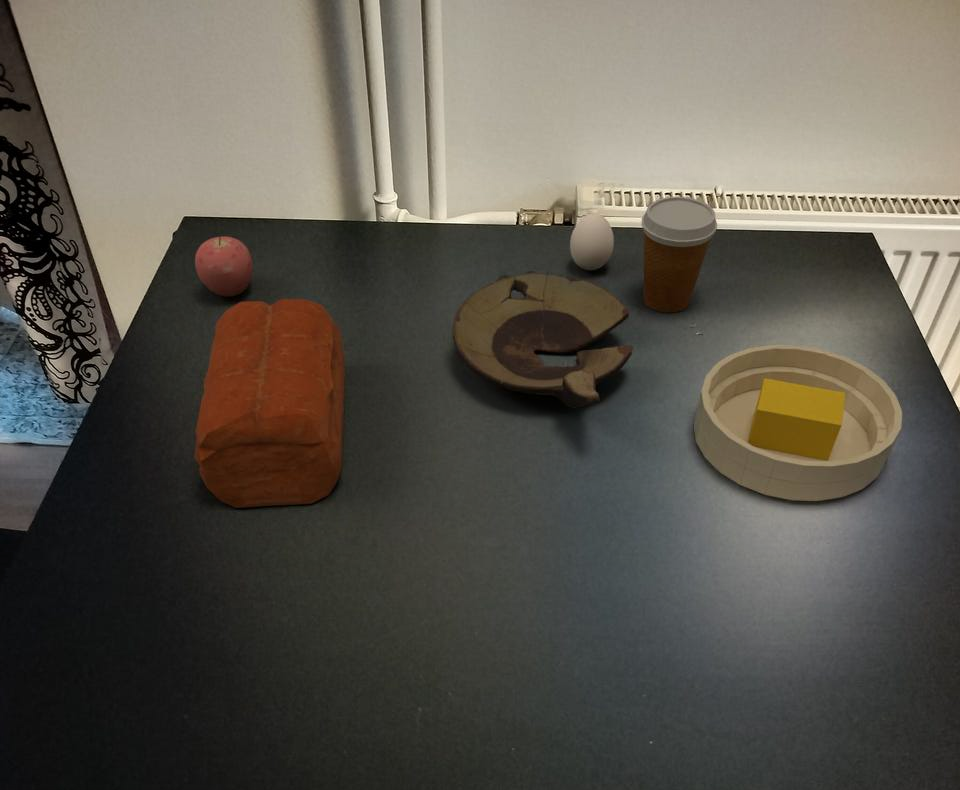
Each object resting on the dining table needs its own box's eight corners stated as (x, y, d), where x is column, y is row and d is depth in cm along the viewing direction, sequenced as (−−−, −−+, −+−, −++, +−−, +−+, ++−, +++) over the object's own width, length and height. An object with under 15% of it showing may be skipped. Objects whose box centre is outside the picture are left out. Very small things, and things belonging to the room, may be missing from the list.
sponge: (832, 428, 103) (845, 392, 99) (827, 461, 100) (841, 425, 96) (754, 413, 105) (764, 377, 101) (747, 445, 101) (757, 409, 98)
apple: (265, 279, 125) (253, 224, 119) (249, 308, 121) (235, 252, 115) (214, 276, 126) (200, 220, 120) (197, 304, 122) (180, 248, 115)
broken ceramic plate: (629, 310, 120) (636, 256, 114) (628, 456, 101) (637, 400, 95) (465, 302, 121) (464, 248, 115) (435, 444, 103) (431, 388, 97)
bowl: (888, 402, 107) (905, 363, 103) (879, 523, 94) (898, 484, 90) (709, 370, 111) (718, 331, 107) (677, 481, 99) (686, 442, 94)
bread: (202, 511, 96) (174, 433, 88) (226, 366, 113) (205, 288, 105) (345, 503, 97) (331, 425, 89) (349, 359, 113) (337, 282, 105)
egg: (598, 283, 124) (604, 230, 118) (560, 271, 126) (564, 218, 120) (618, 264, 127) (624, 211, 121) (580, 252, 129) (585, 200, 123)
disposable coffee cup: (624, 312, 119) (635, 225, 110) (639, 276, 125) (651, 190, 116) (694, 325, 117) (712, 236, 108) (707, 287, 123) (725, 200, 114)
